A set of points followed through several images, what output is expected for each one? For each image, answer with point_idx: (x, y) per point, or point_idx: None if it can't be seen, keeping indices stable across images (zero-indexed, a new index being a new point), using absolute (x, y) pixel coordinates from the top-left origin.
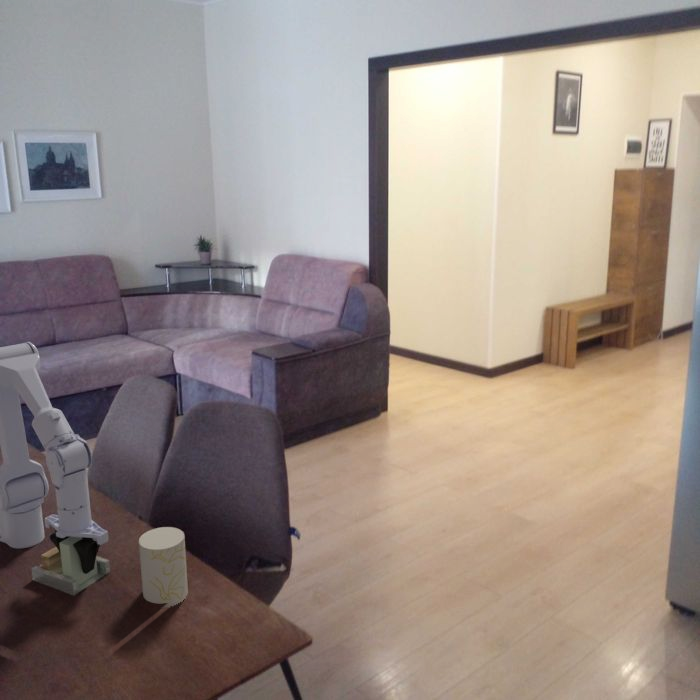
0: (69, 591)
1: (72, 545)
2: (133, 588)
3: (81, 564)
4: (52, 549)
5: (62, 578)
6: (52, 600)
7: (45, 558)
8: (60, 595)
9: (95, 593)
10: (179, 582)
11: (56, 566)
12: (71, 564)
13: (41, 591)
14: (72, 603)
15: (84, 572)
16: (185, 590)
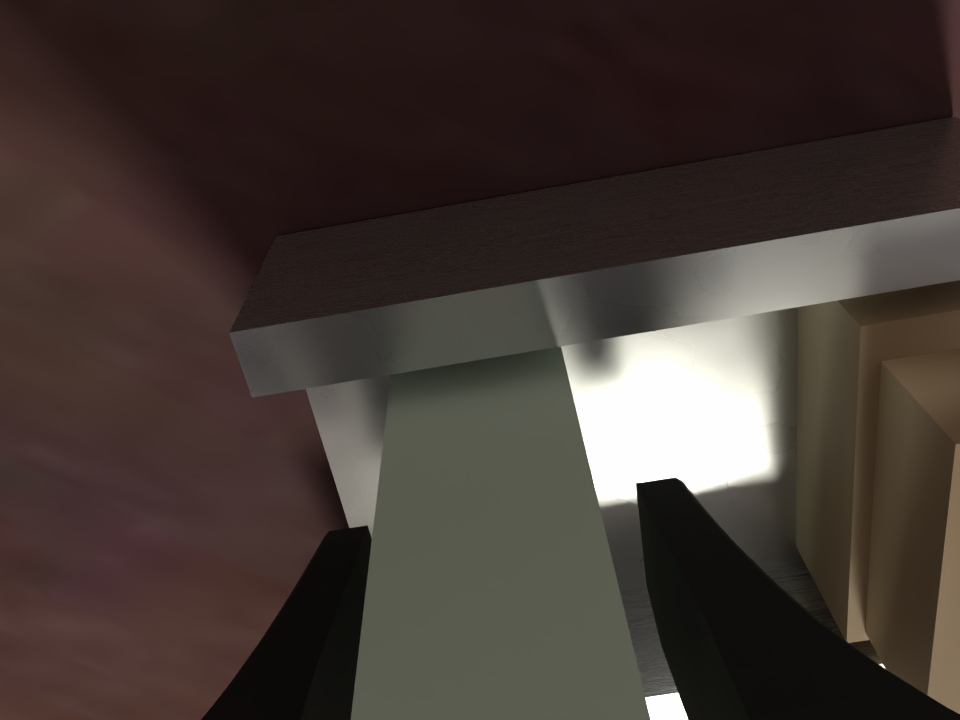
0: (329, 259)
1: None
2: (60, 636)
3: (329, 610)
4: None
5: (461, 315)
6: (471, 78)
7: None
8: (487, 192)
9: (233, 421)
10: None
11: (840, 422)
12: (372, 538)
13: (747, 100)
14: (235, 189)
15: (339, 537)
16: None
